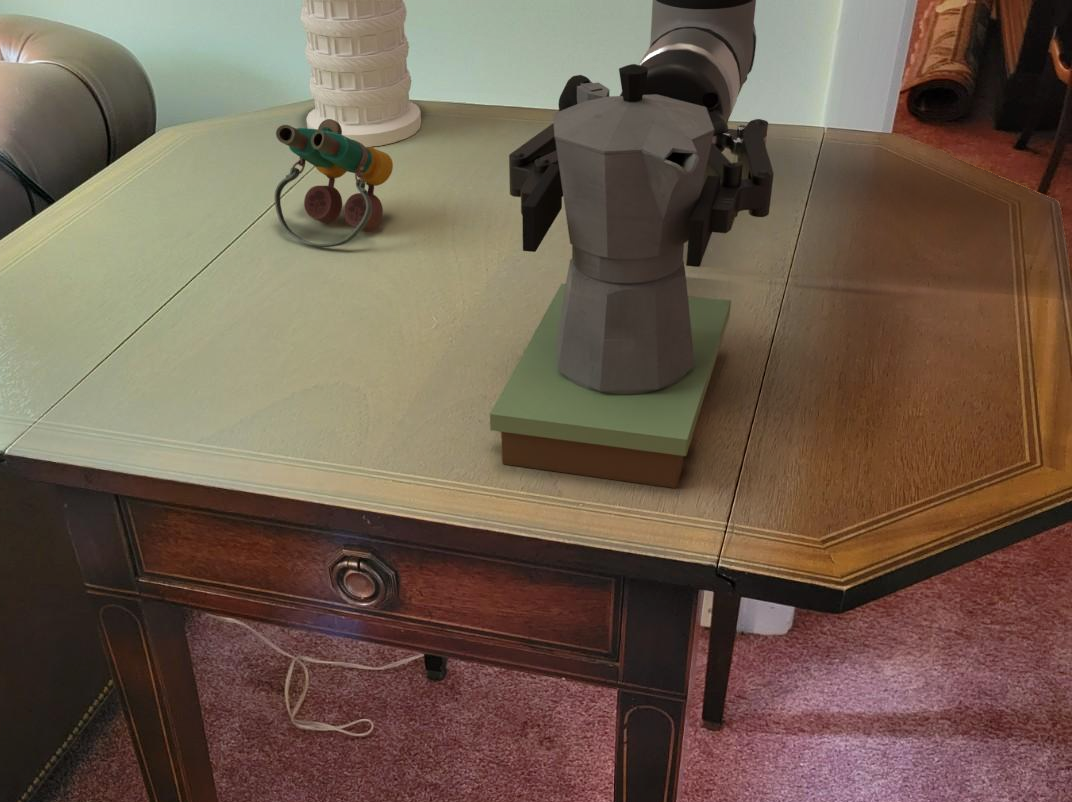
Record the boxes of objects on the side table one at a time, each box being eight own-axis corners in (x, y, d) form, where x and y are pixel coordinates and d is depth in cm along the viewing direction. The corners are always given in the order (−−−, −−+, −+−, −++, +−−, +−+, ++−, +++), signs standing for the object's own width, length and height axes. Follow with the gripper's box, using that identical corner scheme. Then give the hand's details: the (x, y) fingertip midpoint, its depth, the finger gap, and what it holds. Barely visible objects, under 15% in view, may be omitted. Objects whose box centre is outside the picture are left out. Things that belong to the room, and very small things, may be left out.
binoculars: (385, 264, 104) (411, 144, 102) (328, 243, 96) (355, 113, 94) (296, 245, 108) (319, 129, 106) (233, 223, 99) (257, 98, 98)
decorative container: (296, 118, 127) (271, -76, 115) (402, 101, 129) (388, -89, 118) (323, 155, 118) (299, -50, 107) (436, 136, 121) (424, -65, 109)
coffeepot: (742, 390, 74) (774, 84, 62) (602, 427, 72) (609, 116, 60) (627, 288, 85) (636, 13, 74) (503, 317, 83) (492, 37, 71)
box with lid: (725, 352, 86) (731, 300, 84) (682, 495, 73) (687, 439, 71) (560, 333, 89) (561, 283, 86) (491, 468, 76) (489, 413, 73)
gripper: (828, 168, 85) (796, 316, 69) (528, 147, 90) (433, 280, 74) (845, 55, 80) (815, 185, 64) (527, 40, 85) (425, 156, 69)
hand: (610, 236), depth 69 cm, fingers closed on coffeepot, 9 cm apart
